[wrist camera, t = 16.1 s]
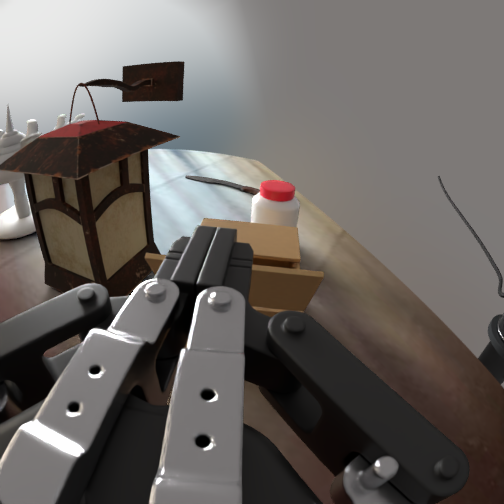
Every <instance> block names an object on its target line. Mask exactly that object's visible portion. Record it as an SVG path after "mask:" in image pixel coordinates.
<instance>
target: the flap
mask: <svg viewBox="0 0 504 504" xmlns="http://www.w3.org/2000/svg"><path fill="white" fill-rule="evenodd" d="M165 257H166V255H160V254H151V253H146V255H145V259H146V261H147V263H148V264H149V266H150V268H151V269H152V271H153V272H154V274H155V275H156V273H157V271H158V269H159V267H160V266H161V264H162V262H163V260H164V259H165ZM323 278H324V272H319V271H309V270H299V269H289V268H280V267H270V266H260V265H252V275H251V285H250V293H249V300H248V301H249V303H250V305H251V306H254V307H264V308H274V309H284V310H295V311H305V309H306V307H307V305H308V304H309V302H310V300H311V299H312V297H313V295H314V293H315V292H316V290H317V288H318V287H319V285H320V283H321V281H322V280H323Z"/></svg>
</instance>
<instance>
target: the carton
mask: <svg viewBox="0 0 504 504" xmlns="http://www.w3.org/2000/svg"><path fill="white" fill-rule="evenodd" d="M201 226H212V227H222V228H232V229H237V242H242V243H249V244H250V246H251V247H252V249H253V251H254V254H253V265H260V266H270V267H280V268H289V269H299V270H300V260H301V259H300V248H299V238H298V228H297V227H289V226H280V225H270V224H261V223H251V222H241V221H230V220H220V219H209V218H204V219H203V221H202V223H201ZM253 308H254V309H255V310H256V311H258V312H260V313H262V314H264V315H267V316H269V317H273V316H274V315H275V314H277V313H279V312H282V311H289V310H284V309H274V308H258V307H253ZM292 311H295V310H292ZM299 312H303V311H299ZM188 339H189V337H188ZM188 339H187V342H186V346H185V348H187V343H188Z"/></svg>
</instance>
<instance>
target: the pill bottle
mask: <svg viewBox="0 0 504 504" xmlns="http://www.w3.org/2000/svg"><path fill="white" fill-rule="evenodd" d="M294 194H295V187H294V186H293V185H292V184H290V183H288V182H284V181H279V180H268V181H264V182H262V183H261V186H260V192H259V193H257V194H256V195H255V196H254V197H253V199H252V208H251V221H250V222H251V223H261V224H270V225H280V226H289V227H297V222H298V216H299V209H300V202H299V201H298V199H297V198H296V197H295V196H294Z"/></svg>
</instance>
